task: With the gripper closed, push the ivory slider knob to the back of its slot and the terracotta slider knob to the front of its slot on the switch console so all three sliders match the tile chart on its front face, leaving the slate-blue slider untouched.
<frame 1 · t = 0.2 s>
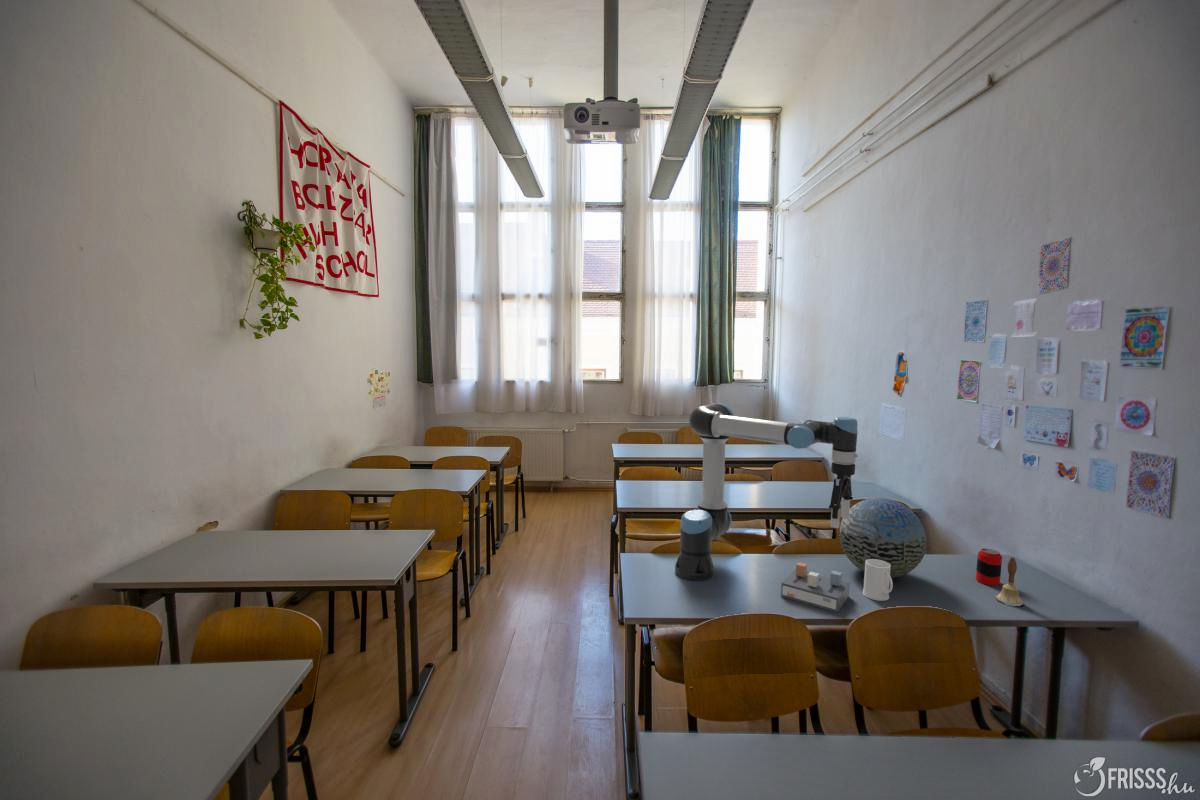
hand: (839, 522, 195), 27 cm above the table, fingers open, 13 cm apart
slider ivory: (813, 579, 195), point 7 cm above the table, slide at 0.0 cm
soda can: (987, 582, 212), on the table
hand bell: (1009, 602, 196), on the table
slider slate: (836, 578, 196), point 7 cm above the table, slide at 6.0 cm
slider terracotta: (801, 569, 203), point 7 cm above the table, slide at 6.0 cm
console: (814, 596, 198), on the table
mug: (878, 598, 198), on the table
decorative globe: (879, 575, 218), on the table
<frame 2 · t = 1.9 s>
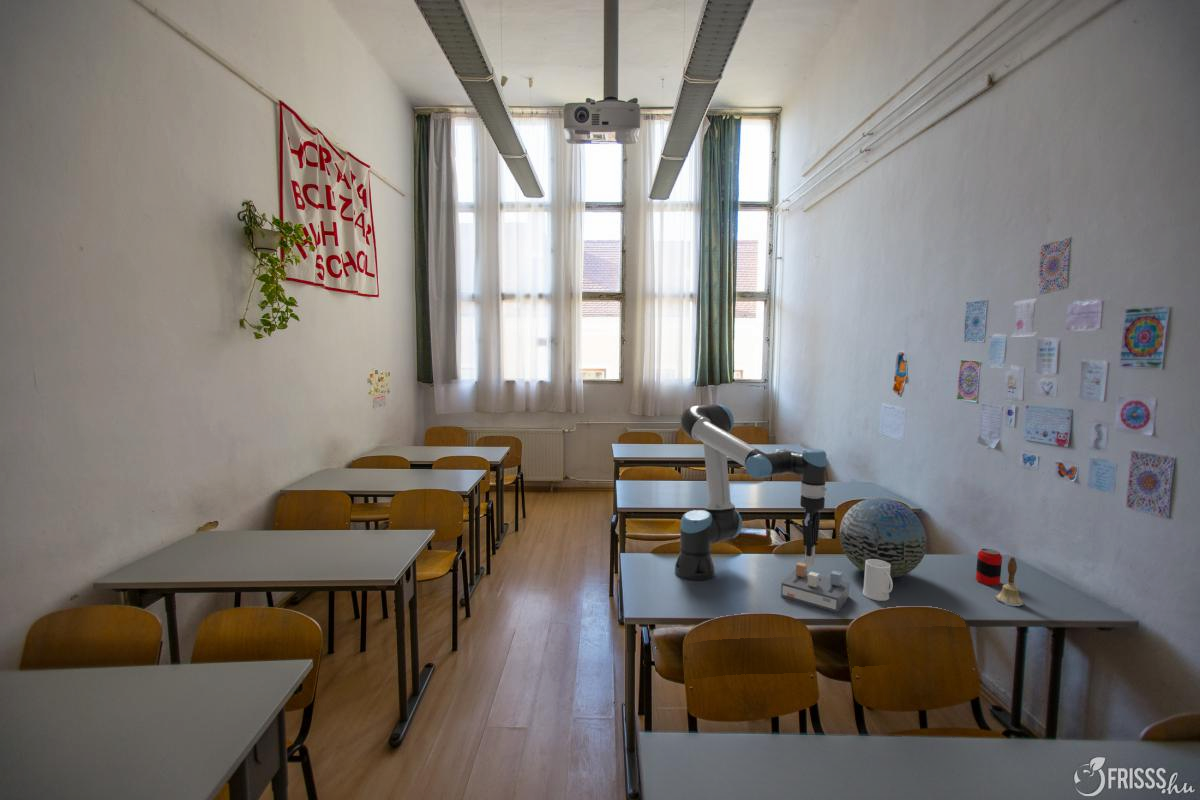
hand: (809, 564, 189), 15 cm above the table, fingers closed
nothing on the table moved.
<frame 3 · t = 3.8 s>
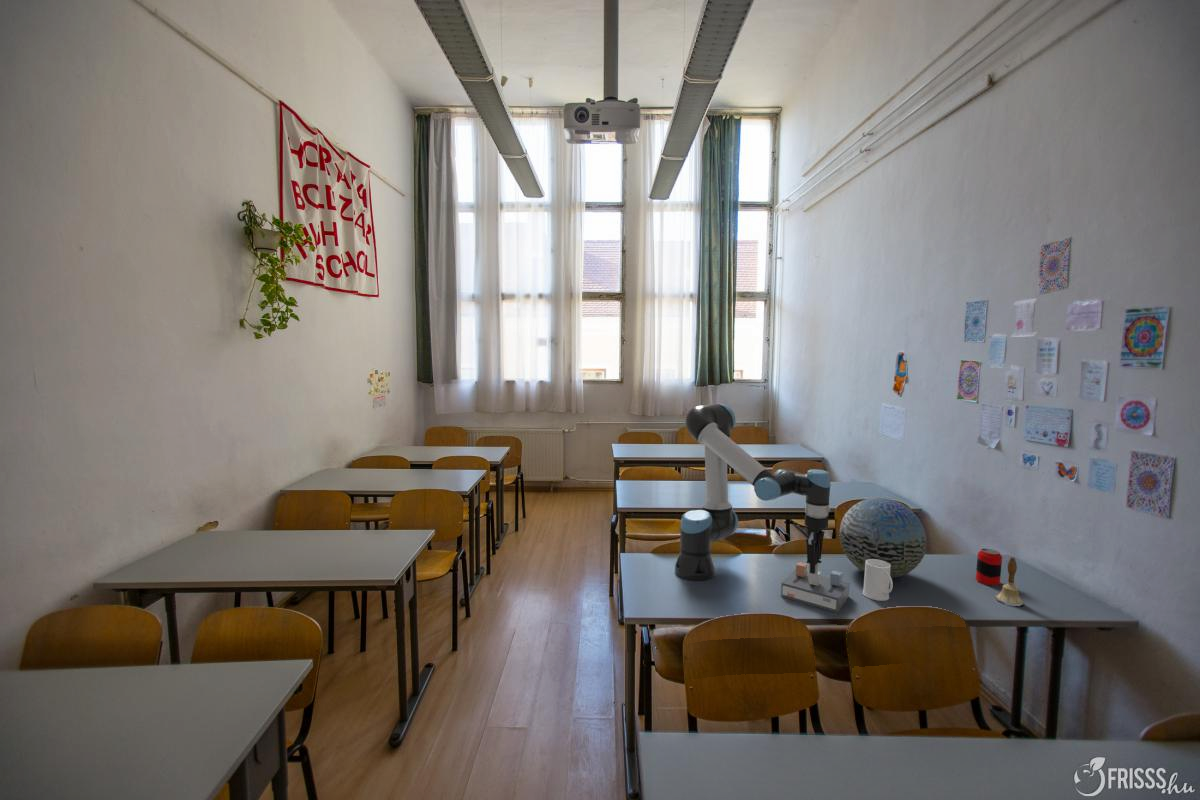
hand: (812, 581, 194), 7 cm above the table, fingers closed
slider ivory: (814, 577, 196), point 7 cm above the table, slide at 1.7 cm, touching gripper
everything else where it was.
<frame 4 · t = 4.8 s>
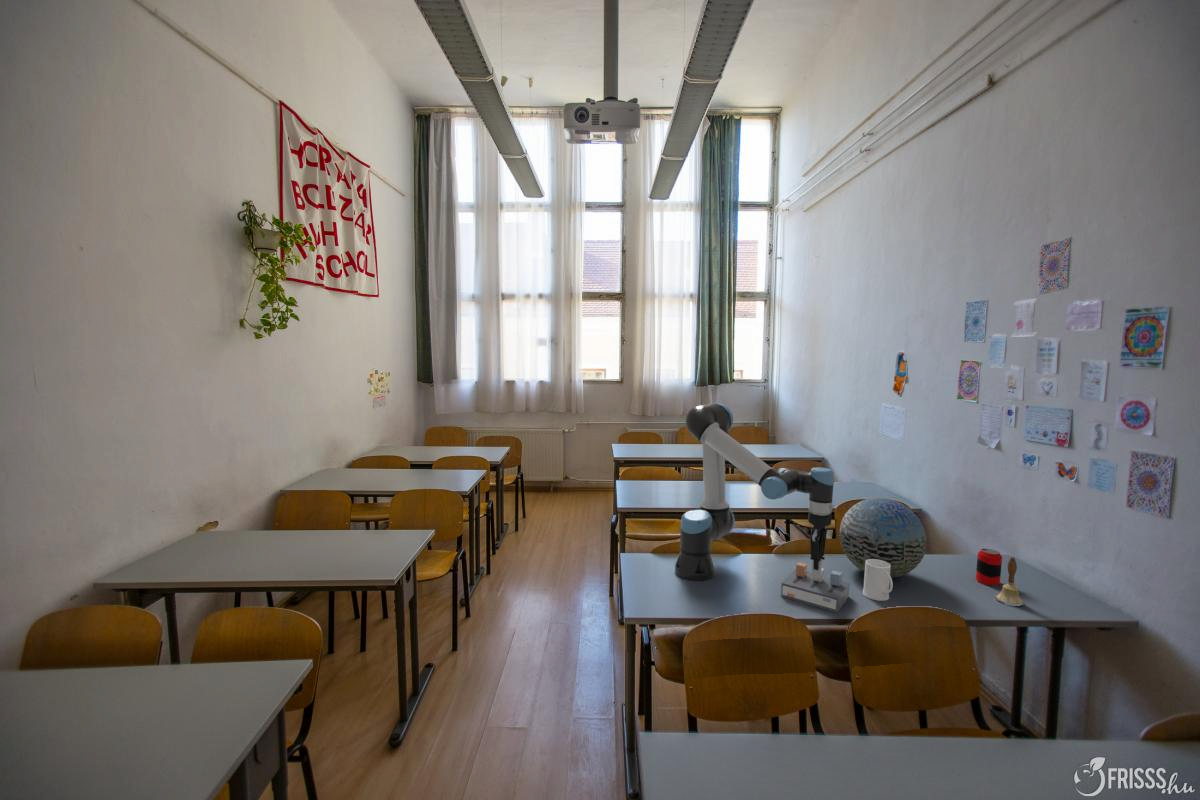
hand: (816, 577, 198), 7 cm above the table, fingers closed
slider ivory: (818, 574, 199), point 7 cm above the table, slide at 5.7 cm, touching gripper
everything else where it was.
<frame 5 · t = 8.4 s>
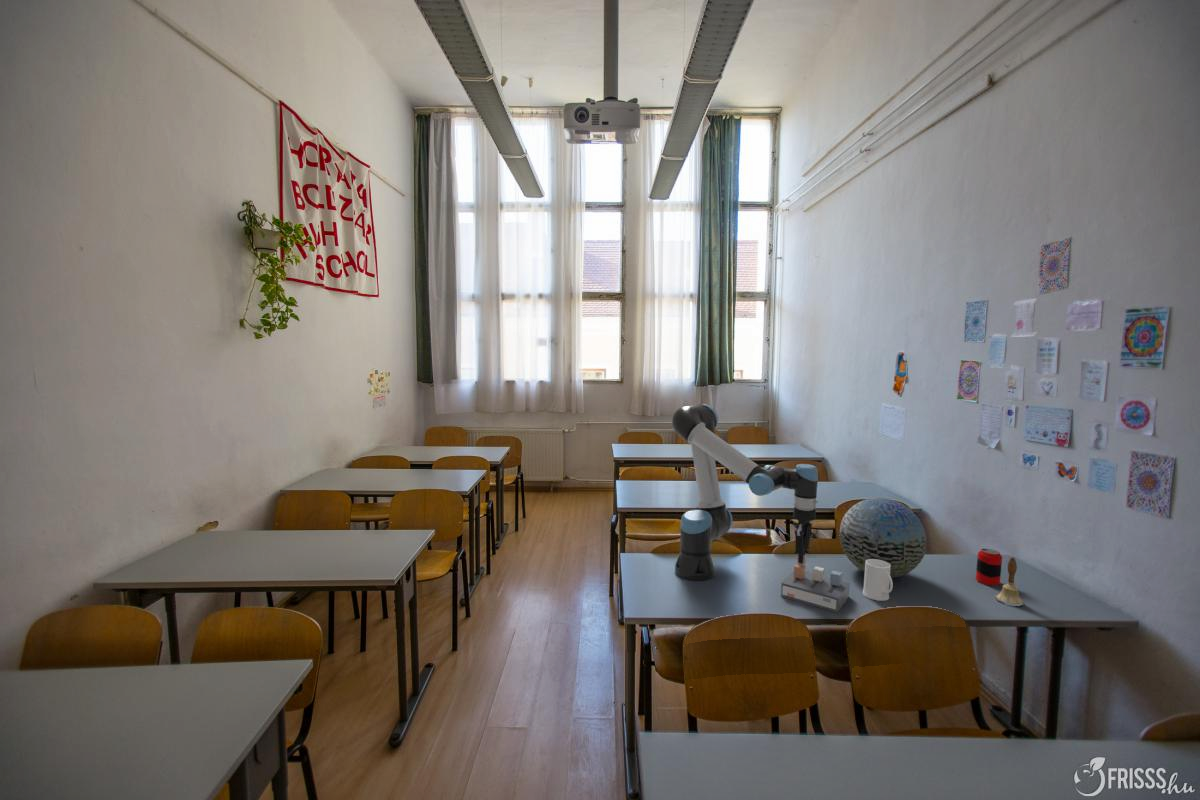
hand: (801, 570, 203), 7 cm above the table, fingers closed
slider ivory: (818, 574, 199), point 7 cm above the table, slide at 5.8 cm
slider terracotta: (799, 571, 202), point 7 cm above the table, slide at 3.9 cm, touching gripper
everything else where it was.
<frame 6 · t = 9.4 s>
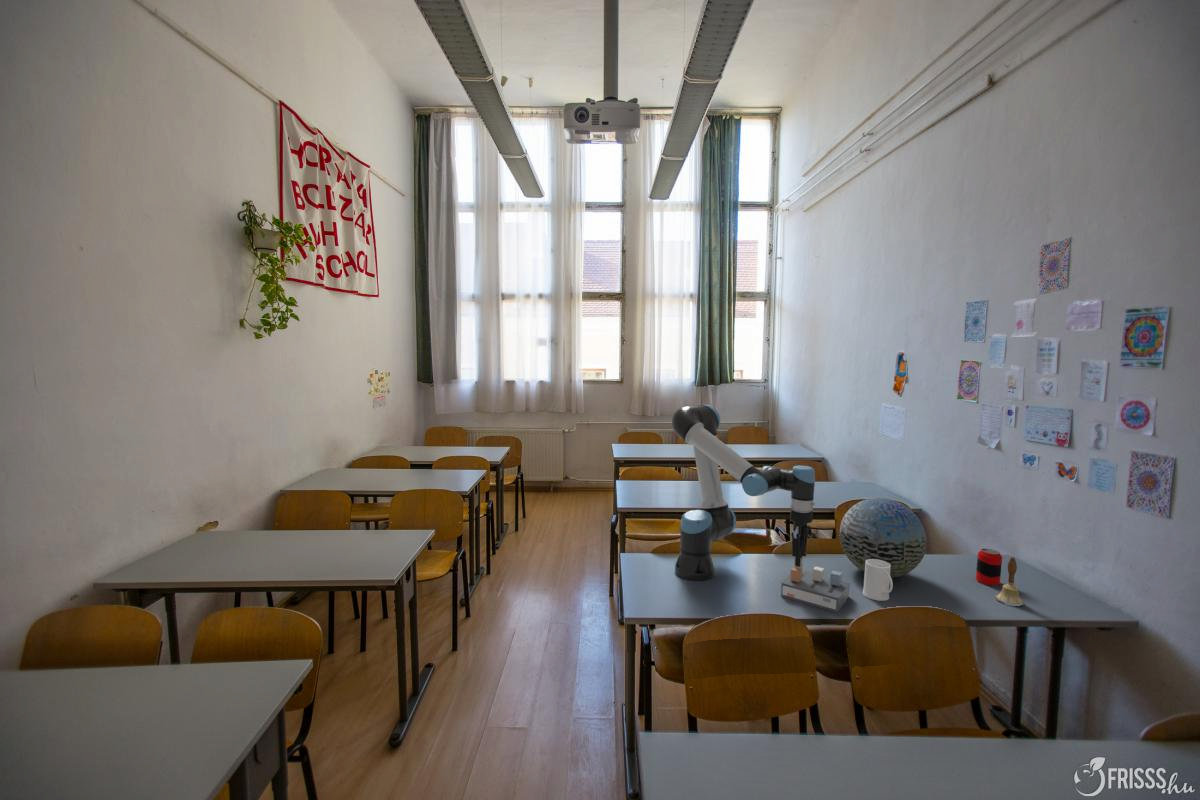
hand: (798, 573, 201), 7 cm above the table, fingers closed
slider terracotta: (796, 574, 199), point 7 cm above the table, slide at 0.3 cm, touching gripper
everything else where it was.
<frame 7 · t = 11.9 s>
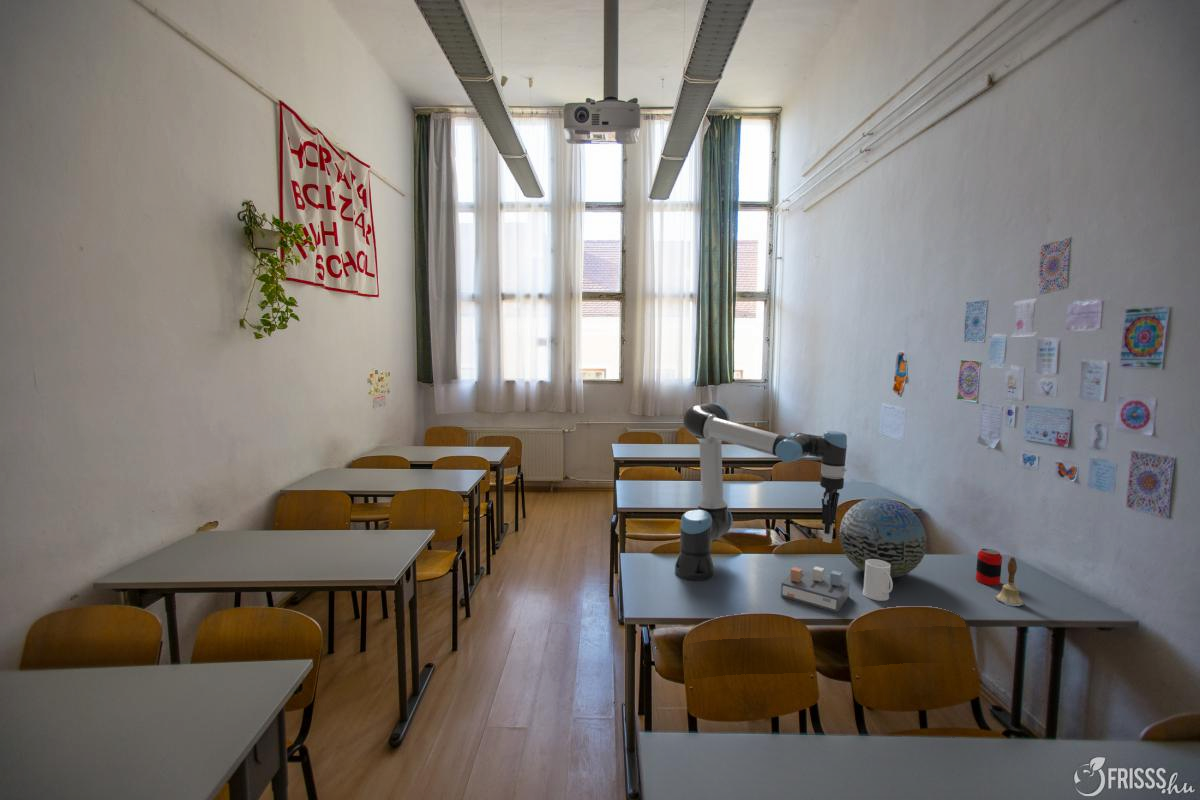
hand: (827, 541, 197), 20 cm above the table, fingers closed
slider terracotta: (796, 574, 199), point 7 cm above the table, slide at 0.3 cm
everything else where it was.
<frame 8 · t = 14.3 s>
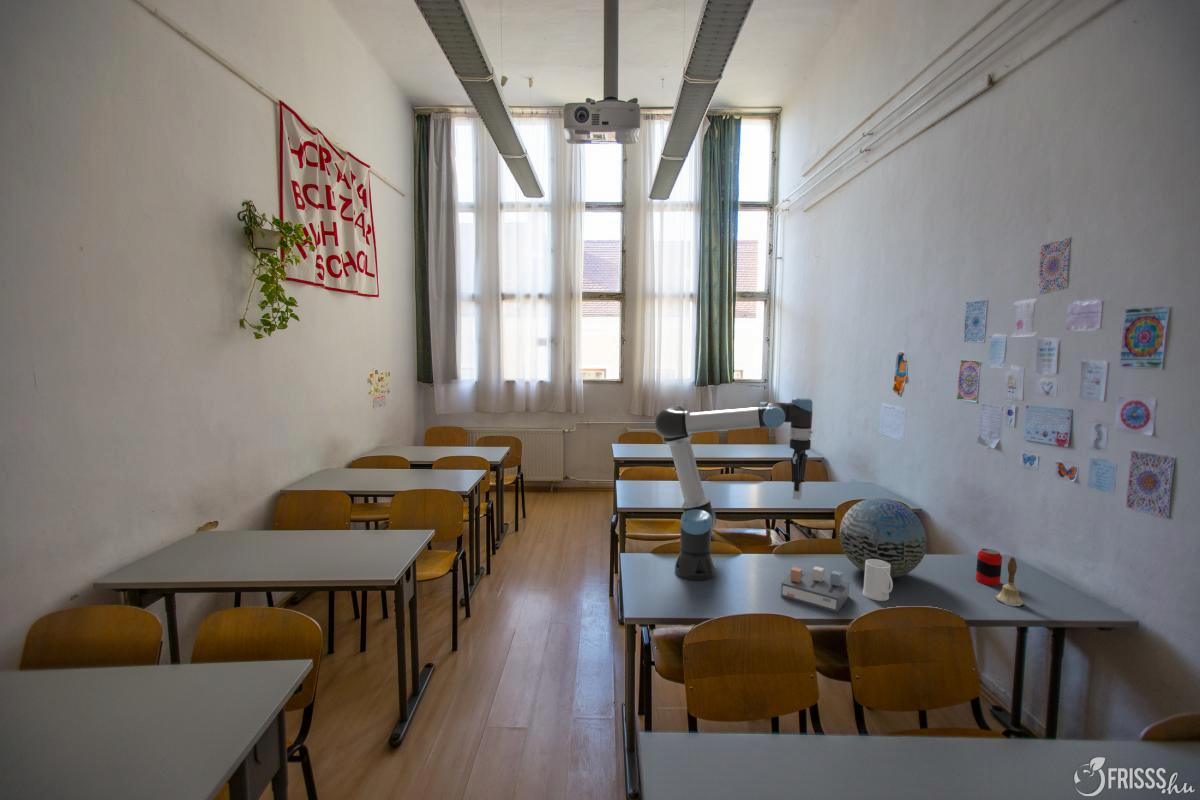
hand: (797, 498, 216), 29 cm above the table, fingers closed
nothing on the table moved.
at the end: slider terracotta slide at 0.3 cm; slider ivory slide at 5.8 cm; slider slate slide at 6.0 cm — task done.
